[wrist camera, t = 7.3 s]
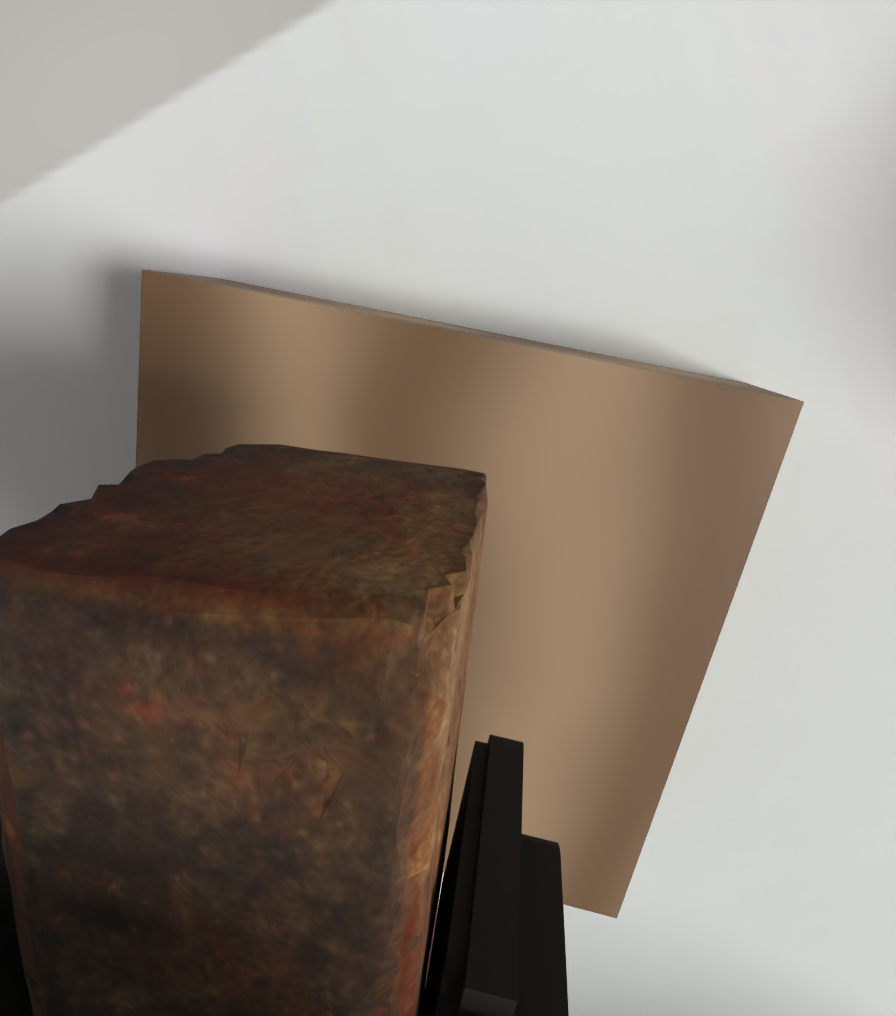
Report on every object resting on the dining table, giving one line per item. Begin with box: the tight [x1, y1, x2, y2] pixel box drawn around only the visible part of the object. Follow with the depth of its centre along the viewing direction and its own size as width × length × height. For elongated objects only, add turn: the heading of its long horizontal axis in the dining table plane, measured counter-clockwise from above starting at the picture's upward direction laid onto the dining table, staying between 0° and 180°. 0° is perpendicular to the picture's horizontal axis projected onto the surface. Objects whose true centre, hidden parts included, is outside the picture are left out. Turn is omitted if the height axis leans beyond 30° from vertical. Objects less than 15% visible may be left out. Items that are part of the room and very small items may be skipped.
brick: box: [0, 444, 488, 1016], centre depth 8 cm, size 11×4×5 cm, turn 174°
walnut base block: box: [136, 270, 804, 918], centre depth 17 cm, size 14×14×4 cm
